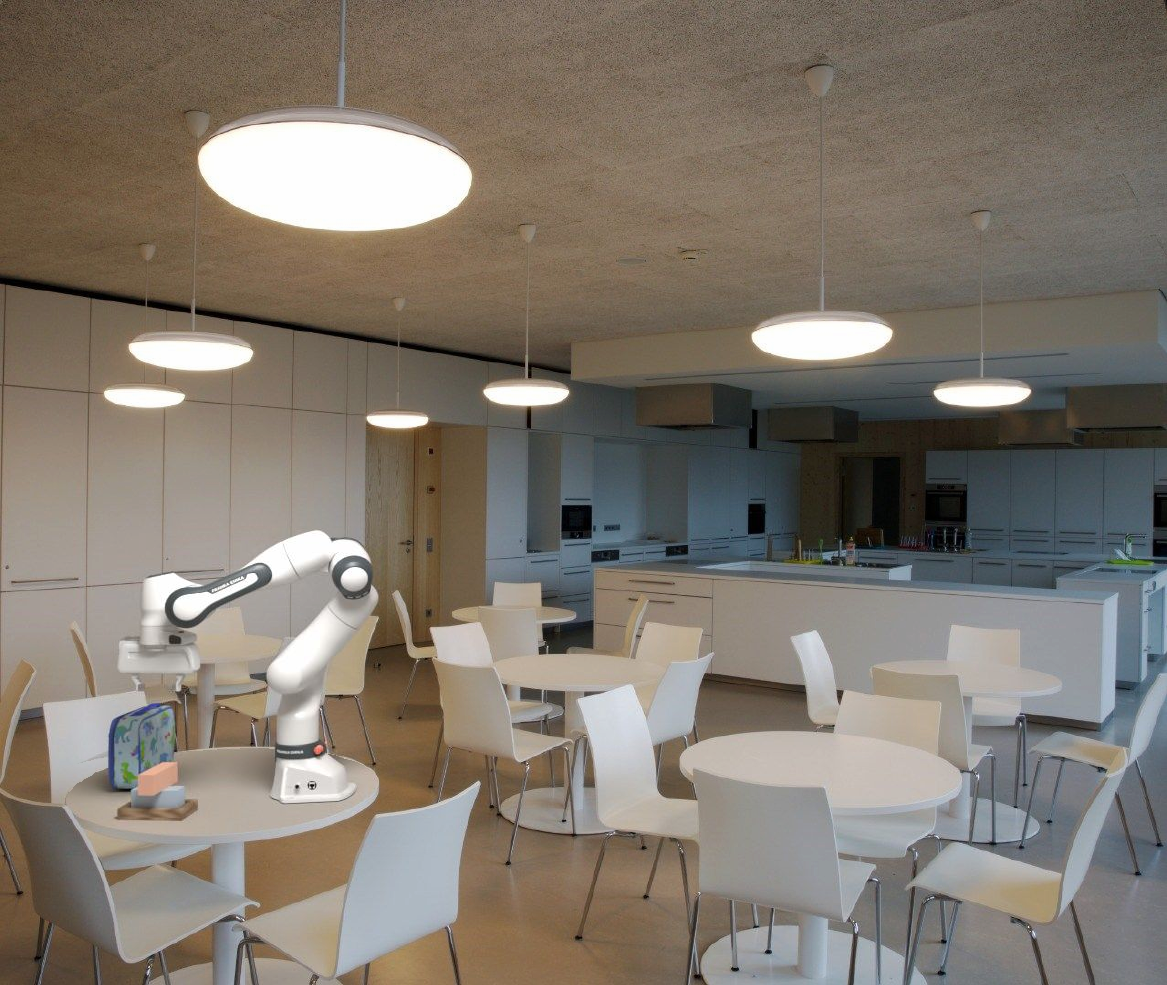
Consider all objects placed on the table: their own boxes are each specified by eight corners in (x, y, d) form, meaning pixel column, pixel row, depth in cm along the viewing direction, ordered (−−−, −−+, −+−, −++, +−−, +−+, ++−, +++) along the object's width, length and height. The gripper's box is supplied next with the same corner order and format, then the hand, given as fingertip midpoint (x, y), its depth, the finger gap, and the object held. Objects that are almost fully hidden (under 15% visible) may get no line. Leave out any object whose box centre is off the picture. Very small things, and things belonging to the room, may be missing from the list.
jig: (197, 809, 239) (197, 799, 239) (181, 820, 231) (181, 809, 231) (135, 808, 240) (135, 798, 240) (117, 819, 232) (117, 808, 232)
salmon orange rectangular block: (153, 795, 229) (153, 775, 229) (137, 795, 230) (138, 774, 230) (177, 781, 241) (177, 762, 241) (162, 781, 242) (162, 762, 242)
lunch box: (142, 769, 278) (142, 698, 279) (179, 768, 279) (179, 698, 279) (102, 795, 252) (102, 717, 253) (142, 794, 253) (143, 716, 253)
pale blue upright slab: (184, 809, 237) (184, 786, 237) (176, 814, 233) (176, 790, 233) (139, 808, 238) (139, 785, 238) (130, 813, 234) (131, 789, 234)
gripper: (112, 637, 234) (111, 693, 234) (191, 638, 233) (191, 693, 232) (126, 634, 240) (125, 688, 240) (203, 634, 239) (203, 688, 239)
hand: (158, 691), depth 236 cm, fingers open, 8 cm apart
